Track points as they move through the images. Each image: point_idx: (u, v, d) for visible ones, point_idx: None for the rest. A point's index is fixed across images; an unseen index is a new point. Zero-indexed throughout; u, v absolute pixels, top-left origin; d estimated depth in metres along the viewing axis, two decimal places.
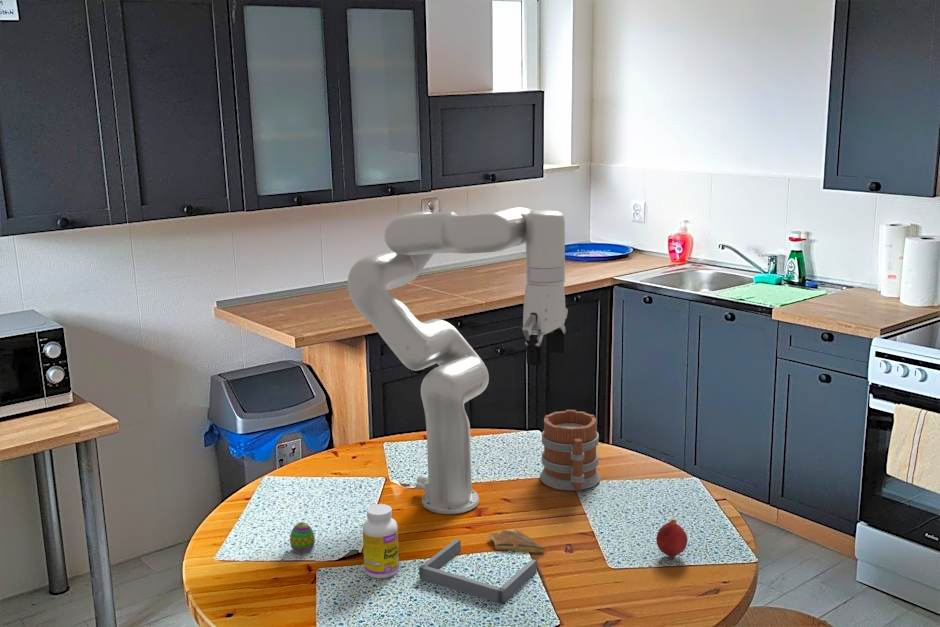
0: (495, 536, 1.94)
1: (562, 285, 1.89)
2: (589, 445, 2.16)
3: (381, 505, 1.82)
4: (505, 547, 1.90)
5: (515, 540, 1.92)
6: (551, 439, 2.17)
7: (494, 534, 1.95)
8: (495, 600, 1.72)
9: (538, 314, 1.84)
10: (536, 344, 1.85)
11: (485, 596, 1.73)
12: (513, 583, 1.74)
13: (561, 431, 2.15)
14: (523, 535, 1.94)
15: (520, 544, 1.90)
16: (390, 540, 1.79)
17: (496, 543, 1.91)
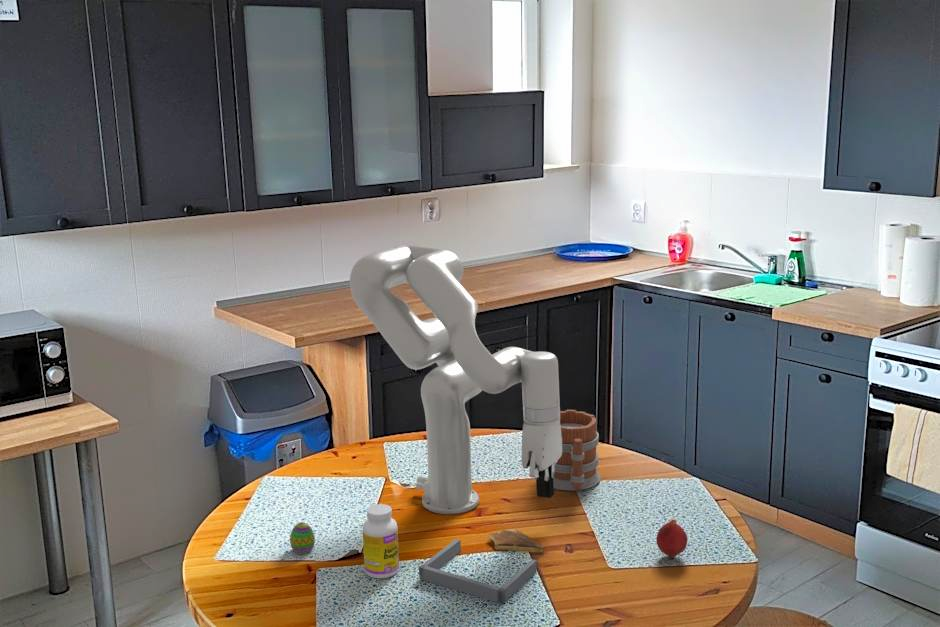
0: (495, 535, 1.94)
1: (558, 421, 1.98)
2: (589, 445, 2.16)
3: (381, 505, 1.82)
4: (505, 547, 1.90)
5: (516, 540, 1.92)
6: None
7: (494, 534, 1.95)
8: (495, 600, 1.72)
9: (536, 452, 1.93)
10: (545, 479, 1.97)
11: (485, 596, 1.73)
12: (513, 583, 1.74)
13: (561, 431, 2.15)
14: (523, 535, 1.94)
15: (520, 544, 1.90)
16: (390, 540, 1.79)
17: (496, 543, 1.91)
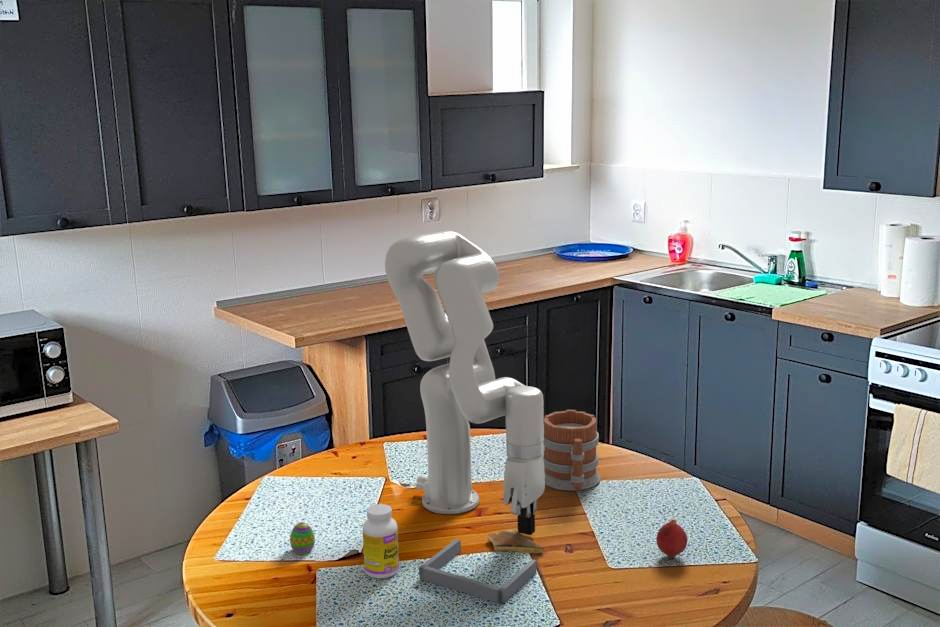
0: (494, 536, 1.93)
1: None
2: (589, 445, 2.16)
3: (381, 505, 1.82)
4: (504, 548, 1.90)
5: (514, 540, 1.92)
6: (551, 439, 2.17)
7: (492, 535, 1.94)
8: (495, 600, 1.72)
9: (518, 490, 1.89)
10: (526, 516, 1.93)
11: (485, 596, 1.73)
12: (513, 583, 1.74)
13: (561, 431, 2.15)
14: (521, 535, 1.94)
15: (519, 545, 1.90)
16: (390, 540, 1.79)
17: (495, 544, 1.91)
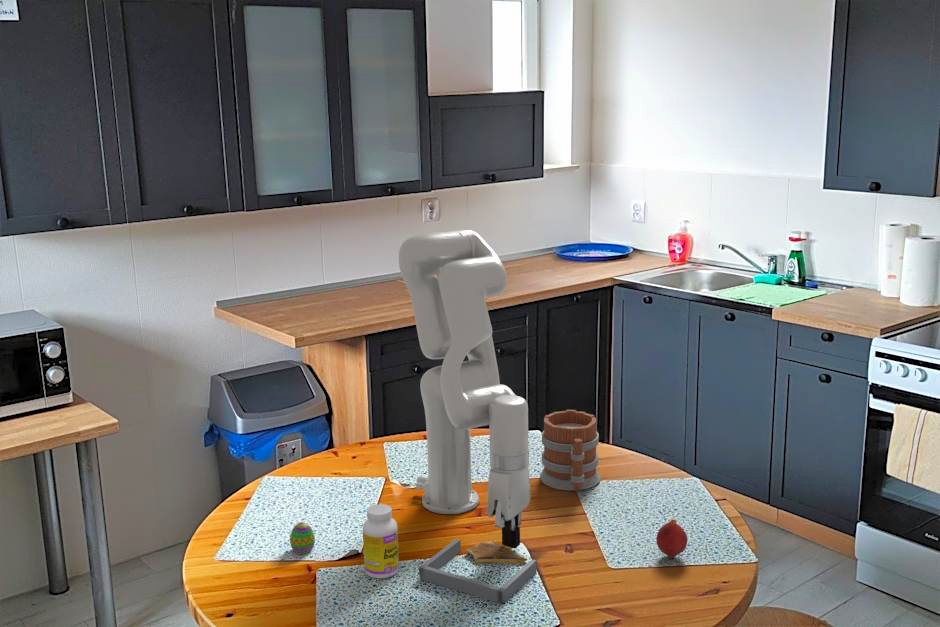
0: (474, 549, 1.89)
1: (526, 468, 1.88)
2: (589, 445, 2.16)
3: (381, 505, 1.82)
4: (486, 560, 1.85)
5: (495, 552, 1.87)
6: (551, 439, 2.17)
7: (472, 547, 1.89)
8: (495, 600, 1.72)
9: (502, 502, 1.83)
10: (511, 528, 1.88)
11: (485, 596, 1.73)
12: (513, 583, 1.74)
13: (561, 431, 2.15)
14: (502, 547, 1.90)
15: (501, 557, 1.86)
16: (390, 540, 1.79)
17: (476, 557, 1.86)
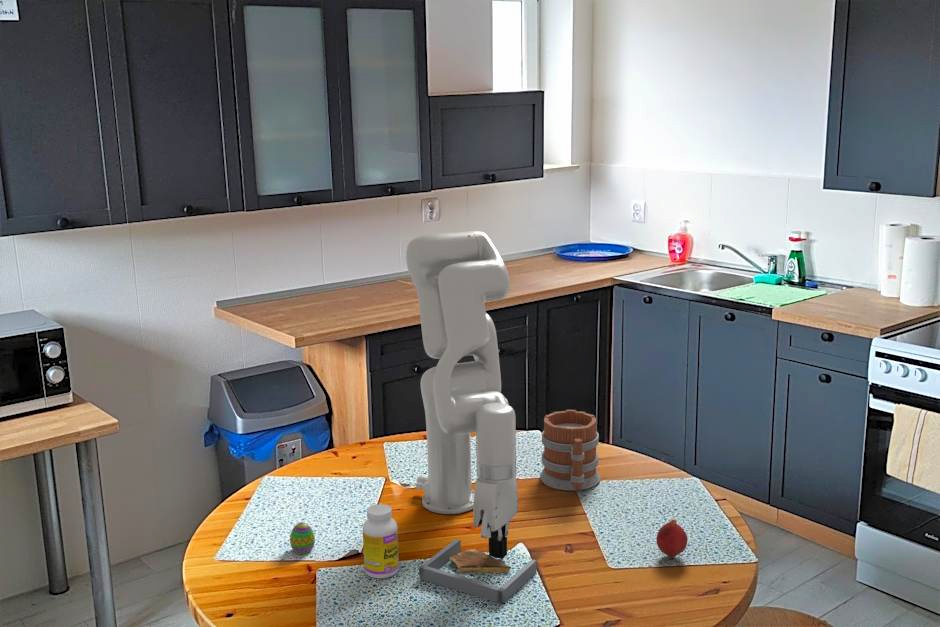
0: (457, 557, 1.85)
1: (514, 477, 1.84)
2: (589, 445, 2.16)
3: (381, 505, 1.82)
4: (469, 569, 1.82)
5: (479, 560, 1.84)
6: (551, 439, 2.17)
7: (455, 556, 1.86)
8: (495, 600, 1.72)
9: (488, 512, 1.80)
10: (498, 539, 1.84)
11: (485, 596, 1.73)
12: (513, 583, 1.74)
13: (561, 431, 2.15)
14: (485, 555, 1.87)
15: (484, 565, 1.83)
16: (390, 540, 1.79)
17: (459, 565, 1.83)
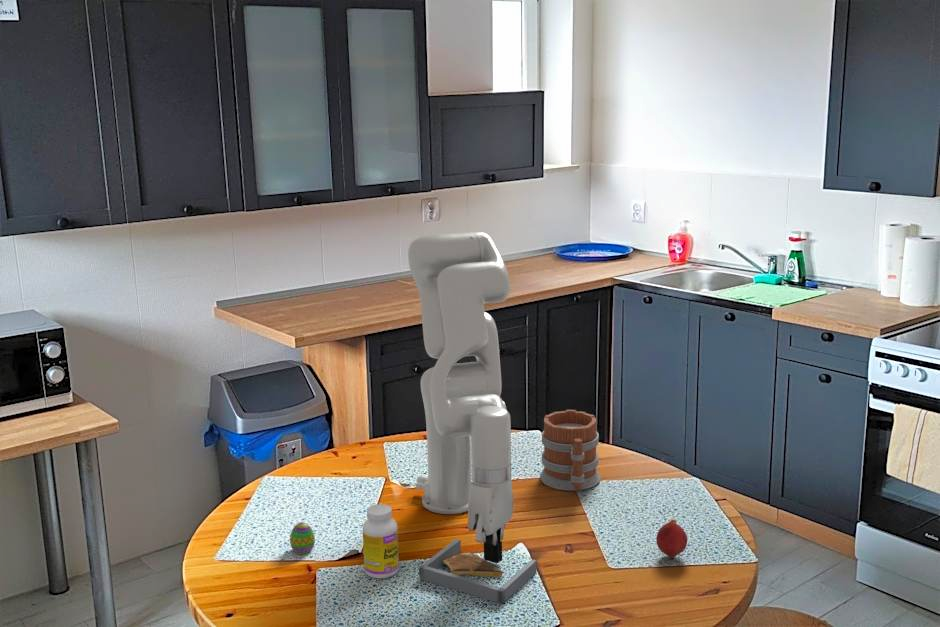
0: (450, 560, 1.85)
1: None
2: (589, 445, 2.16)
3: (381, 505, 1.82)
4: (461, 572, 1.81)
5: (472, 564, 1.83)
6: (551, 439, 2.17)
7: (449, 559, 1.85)
8: (495, 600, 1.72)
9: (483, 516, 1.78)
10: (492, 543, 1.82)
11: (485, 596, 1.73)
12: (513, 583, 1.74)
13: (561, 431, 2.15)
14: (479, 558, 1.85)
15: (477, 569, 1.81)
16: (390, 540, 1.79)
17: (452, 568, 1.82)
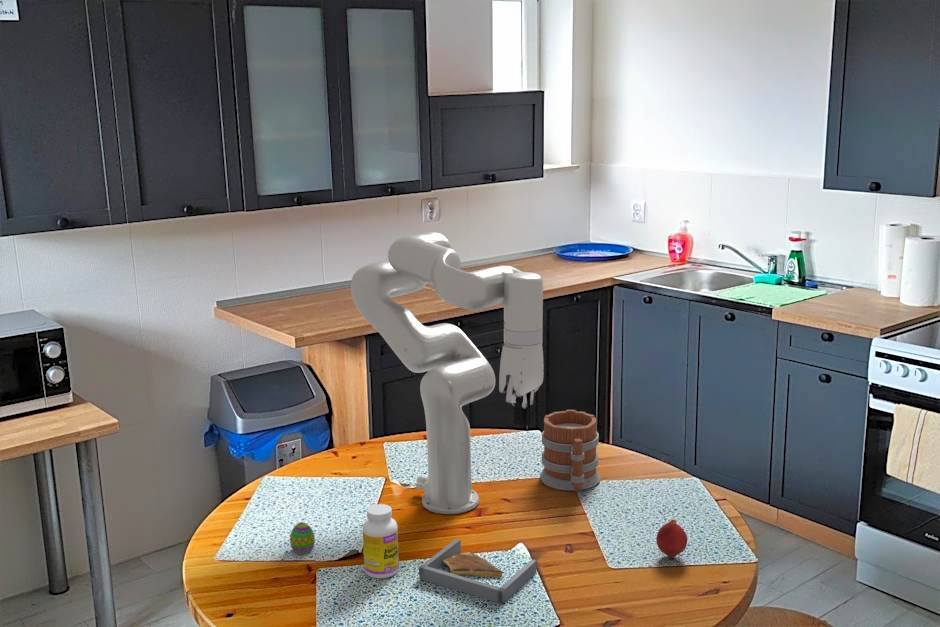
0: (450, 560, 1.84)
1: (540, 346, 1.89)
2: (589, 445, 2.16)
3: (381, 505, 1.82)
4: (461, 572, 1.81)
5: (472, 564, 1.83)
6: (551, 439, 2.17)
7: (449, 558, 1.85)
8: (495, 600, 1.72)
9: (513, 377, 1.84)
10: (522, 406, 1.89)
11: (485, 596, 1.73)
12: (513, 583, 1.74)
13: (561, 431, 2.15)
14: (479, 558, 1.85)
15: (477, 569, 1.81)
16: (390, 540, 1.79)
17: (452, 568, 1.82)
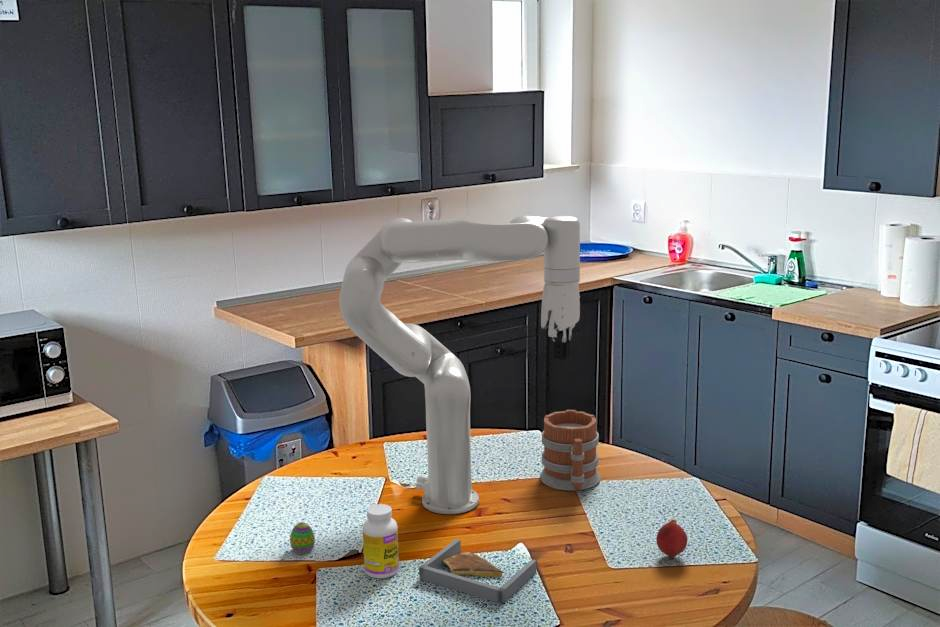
0: (450, 560, 1.84)
1: (577, 285, 2.04)
2: (589, 445, 2.16)
3: (381, 505, 1.82)
4: (461, 572, 1.81)
5: (472, 564, 1.83)
6: (551, 439, 2.17)
7: (449, 558, 1.85)
8: (495, 600, 1.72)
9: (555, 312, 2.00)
10: (562, 340, 2.04)
11: (485, 596, 1.73)
12: (513, 583, 1.74)
13: (561, 431, 2.15)
14: (479, 558, 1.85)
15: (477, 569, 1.81)
16: (390, 540, 1.79)
17: (452, 568, 1.82)
